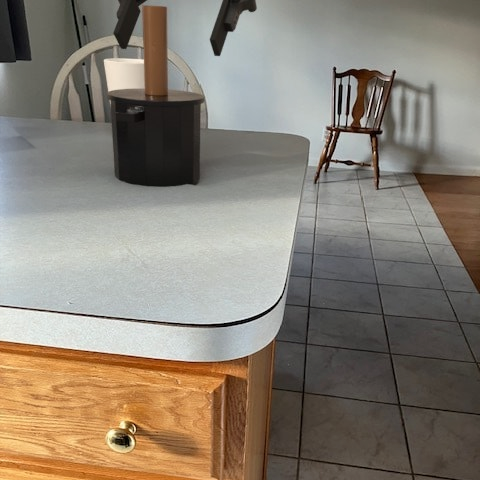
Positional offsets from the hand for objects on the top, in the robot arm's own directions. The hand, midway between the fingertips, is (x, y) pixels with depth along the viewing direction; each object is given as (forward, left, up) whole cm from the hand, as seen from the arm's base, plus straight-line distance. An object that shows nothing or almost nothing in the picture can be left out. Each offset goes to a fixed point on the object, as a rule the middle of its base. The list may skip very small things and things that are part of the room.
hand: (166, 44), depth 71 cm
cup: (-18, +25, -17) cm, 35 cm away
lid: (0, -3, -6) cm, 7 cm away
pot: (0, -3, -17) cm, 17 cm away
